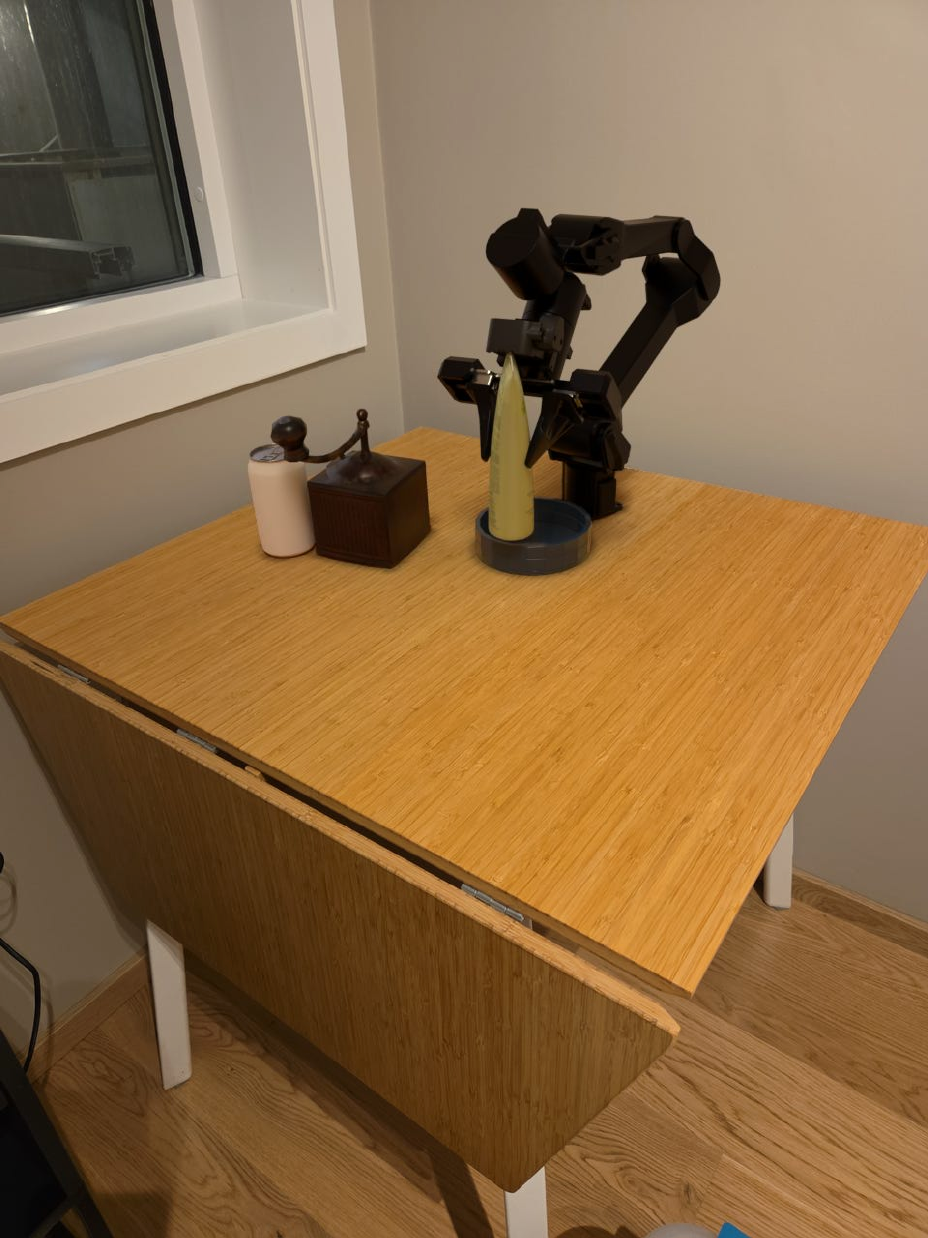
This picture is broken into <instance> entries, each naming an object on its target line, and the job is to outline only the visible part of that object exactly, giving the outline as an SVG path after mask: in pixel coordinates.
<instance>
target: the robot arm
mask: <svg viewBox="0 0 928 1238" xmlns="http://www.w3.org/2000/svg"><path fill="white" fill-rule="evenodd" d="M663 254H677V257H673V256H662V257H661V256H660V255H663ZM485 257H486V259H487V261H488V263H490V266H491V267H492V268H493V269H494V270H495V272H496V273H497V275H498V276H499V277H500V279H501V280H502V281H503V282H504V283H505V285H506V286H507V288H508V289H509V290H510V291H511V293H512V294H513V295H514V296H515V297H516V298H517V299H519V300H522V301H526V303H525V306H524V308H523V312H522V315H521V318H518V317H517V318H515V319H510V318H498V317H497V318H496V317H492V318H490V321H489V328H488V335H487V340H486V347H485V352H486V353H488V354H491V353H492V354H495V355H497V357H496V360H495V361H496V364H497V365H498V366H499V367H500V368H503V365H504V361H505V358H506V355H507V354H509V353H510V352H511V353H512V354H513V355H514V358H515V361H516V364H517V367H518V371H519V375H520V379H521V384H522V389H523V395H524V397H530V398H541V405H540V406H541V407H540V413H539V417H538V420H537V422H536V424H535V427H534V430H533V433H532V436H531V438H530V444H529V447H528V451H527V454H526V458H525V463H524V464H525V466H526V468H529V469H530V468H532V469H533V467H534V465H535V464H536V463H537V462H538V461H539V460H540V459H541V458H542V456H544V454H545V453H546V452H547V453H548V458H549V460H550V461H553V462H555V461H556V462H560V463H561V469H562V470H561V498H559V499H560V500H564V501H568V502H571V503H574V504H576V505H578V506H580V507H582V508H583V509H584V510H585V511H586V512H587V513H588V514H589V515H590V518H591V521H593V520H596V519H599V518H602V517H604V516H606V515H609V514H612V513H614V512H617V511H620V510H622V509H624V508H623V507H624V504H623V503H622V502H619V501H617V499H616V498H617V478H616V472H622V471H624V470H625V465H626V464H628V462H629V460H630V456H631V450H632V445H631V443H630V442H629V440H628V439H627V438H626V437H625V435H624V434H623V433H622V432H623V431H624V428H623V427H624V426H623V408H624V407H625V405H626V403H627V402H628V401H629V400H630V398H631V396H632V394H633V393H634V392H635V390H636V389H637V387H638V386H639V384H640V383H641V381H642V380H643V379H644V377H645V375H646V374H647V373H648V371H649V370H650V368H651V366H653V364H654V362H655V361H656V359H657V358H658V356H659V355H660V354H661V352H662V350H663V349H664V347H665V346H666V345H667V344H668V342H669V340H670V339H671V337H672V336H673V335H674V333H675V331H676V330H677V329H678V328H680V327H682V326H684V325H686V324H689V323H691V322H692V321H695V320H697V319H699V318H700V317H701V316H702V315H703V313H705V311H706V310H707V309H708V308H709V307H710V306H711V305H712V303H713V302H714V301H715V300H716V298H717V296H718V295H719V292H720V288H721V281H722V279H721V273H720V270H719V267H718V263H717V260H716V257H715V254H714V252H713V251H712V250H711V249H710V248H709V247H708V246H707V245H706V244H705V243H704V242H703V241H702V239H700V238H699V237H698V236H697V235H696V233H695V230H694V228H693V224H692V223H691V220H689V219H686V217H683V216H675V215H673V216H672V215H658V214H656V215H655V214H654V215H653V216H651V217H648V218H647V217H646V218H635V219H624V220H621V219H617V218H614V217H611V216H600V215H586V214H571V213H558V214H555V215H554V216H553V217H552V218H551V220H550V225H547V224H546V221H545V219H544V216H543V214H542V213H541V211H540V209H539V208H534V207H520V209H519V211H518V213H517V215H516V216H515V217H513V218H511V219H508V220H506V221H505V222H504V223H502V224H500V226H498V227H497V229H496V230H495V231H494V232H492V233H491V234H490V235H489V237H488V239H487V242H486V245H485ZM642 257H644V261H643V264H642V266H641V270H640V271H641V274H642V276H643V278H644V281H645V283H644V293H645V303H644V305H643V306H642V308H641V310H640V311H639V312H638V314H637V315H636V317H635V318H634V319H633V321H631V323H630V325H629V326H628V328H627V329H626V331H625V332H624V333H623V335H622V336H621V337H620V339H619V341H618V342H617V343H616V344H615V346H614V348H612V350H611V352H610V353H609V354H608V356H607V357H606V359H604V360H605V361H604V362H603V363H602V364H601V366H600V367H599V369H598V370H596V369H586V368H575V369H574V370H573V371H572V372H571V375H570V378H569V380H565V379H564V380H563V379H561V377H562V373H563V370H564V368H565V364H566V361H567V360H570V361H571V360H572V356H573V353H574V349H573V348H572V341H573V337H574V335H575V331H576V328H577V325H578V321H579V318H580V314H581V311H583V312H584V311H591V310H592V308H593V305H592V299H591V297H590V296H589V293H588V292H587V286H586V284H585V283H583V282H582V280H581V279H580V277H579V276H578V275H577V274H581V275H587V276H596V277H597V276H599V277H603V276H607V275H608V274H610V273H612V272H614V271H615V270H618V269H620V268H621V266H622V262H623V261H625V260H628V259H636V258H642ZM501 374H502V373H497V372H494V371H492V370H489V369H486V368H485V366H484V365H483V363H482V362H481V360H480V358H476V357H475V358H474V357H464V356H454V355H449V356H447V357H446V358H444V360H442V362H441V363H440V366H439V369H438V372H437V375H436V378H437V380H438V381H439V382H440V383H441V385H442V386H443V387H444V388H445V390H446V391H447V392H448V394H449V396H451V398H452V399H453V401H456V402H457V403H460V404H466V405H475V406H476V407H477V408H476V409H477V413H478V420H479V444H480V459H481V461H483V462H484V463H488V462H489V460H490V459H491V445H492V434H493V425H494V416H495V409H496V402H497V396H498V389H499V383H500V378H501Z"/></svg>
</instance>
